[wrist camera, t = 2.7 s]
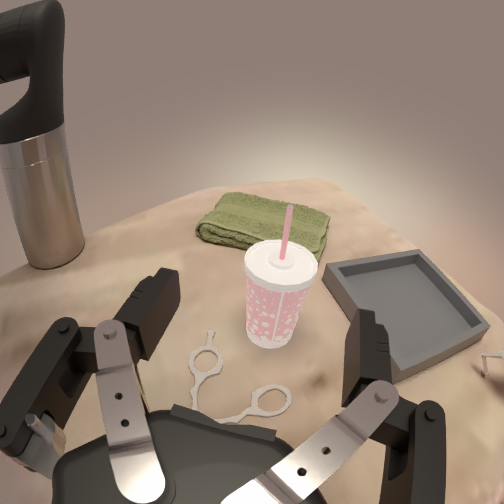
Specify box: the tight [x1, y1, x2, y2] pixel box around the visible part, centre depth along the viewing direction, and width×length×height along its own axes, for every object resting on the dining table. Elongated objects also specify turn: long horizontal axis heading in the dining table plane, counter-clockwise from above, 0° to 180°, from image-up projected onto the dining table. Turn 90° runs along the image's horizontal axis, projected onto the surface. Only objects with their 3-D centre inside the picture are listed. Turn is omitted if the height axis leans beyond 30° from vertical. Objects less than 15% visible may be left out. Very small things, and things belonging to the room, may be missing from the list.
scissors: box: [189, 329, 291, 424], centre depth 22 cm, size 11×1×20 cm
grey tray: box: [322, 249, 490, 384], centre depth 34 cm, size 16×16×2 cm
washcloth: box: [195, 192, 331, 262], centre depth 46 cm, size 13×18×3 cm
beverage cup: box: [244, 205, 318, 349], centre depth 28 cm, size 6×6×14 cm
